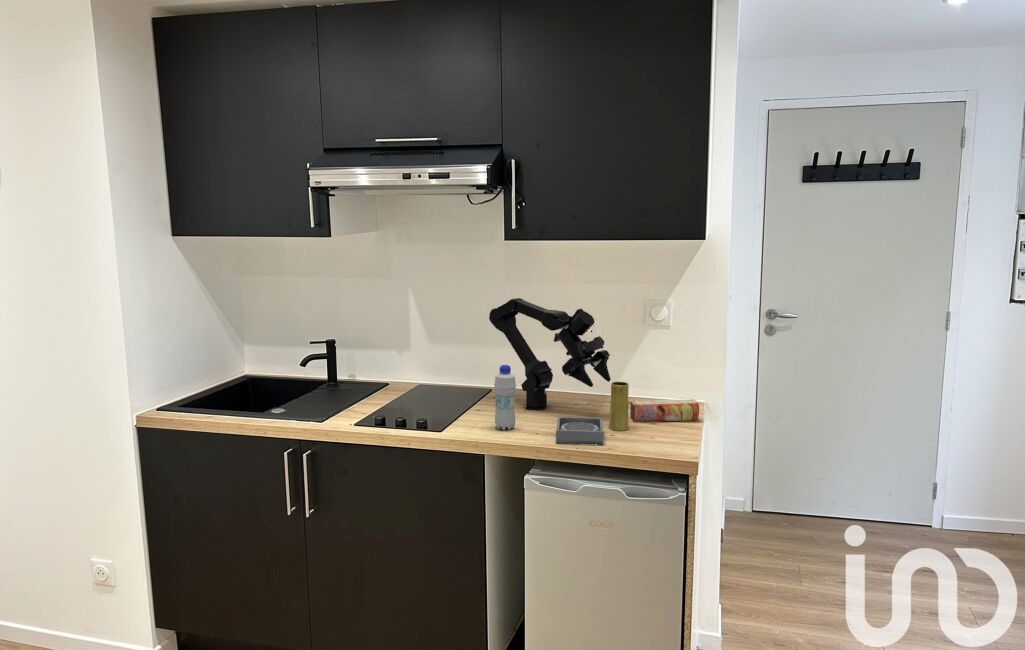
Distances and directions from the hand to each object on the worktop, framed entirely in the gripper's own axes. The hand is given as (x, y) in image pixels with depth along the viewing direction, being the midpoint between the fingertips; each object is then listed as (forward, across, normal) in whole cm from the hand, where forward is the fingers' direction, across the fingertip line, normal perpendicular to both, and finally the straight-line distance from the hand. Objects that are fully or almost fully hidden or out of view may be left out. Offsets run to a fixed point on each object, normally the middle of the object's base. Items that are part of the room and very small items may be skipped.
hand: (601, 383), depth 236 cm
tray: (+12, -15, +7) cm, 20 cm away
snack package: (+18, +18, +1) cm, 25 cm away
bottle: (-4, -24, +23) cm, 33 cm away
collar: (+12, -15, +7) cm, 20 cm away
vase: (+14, 0, +4) cm, 15 cm away
